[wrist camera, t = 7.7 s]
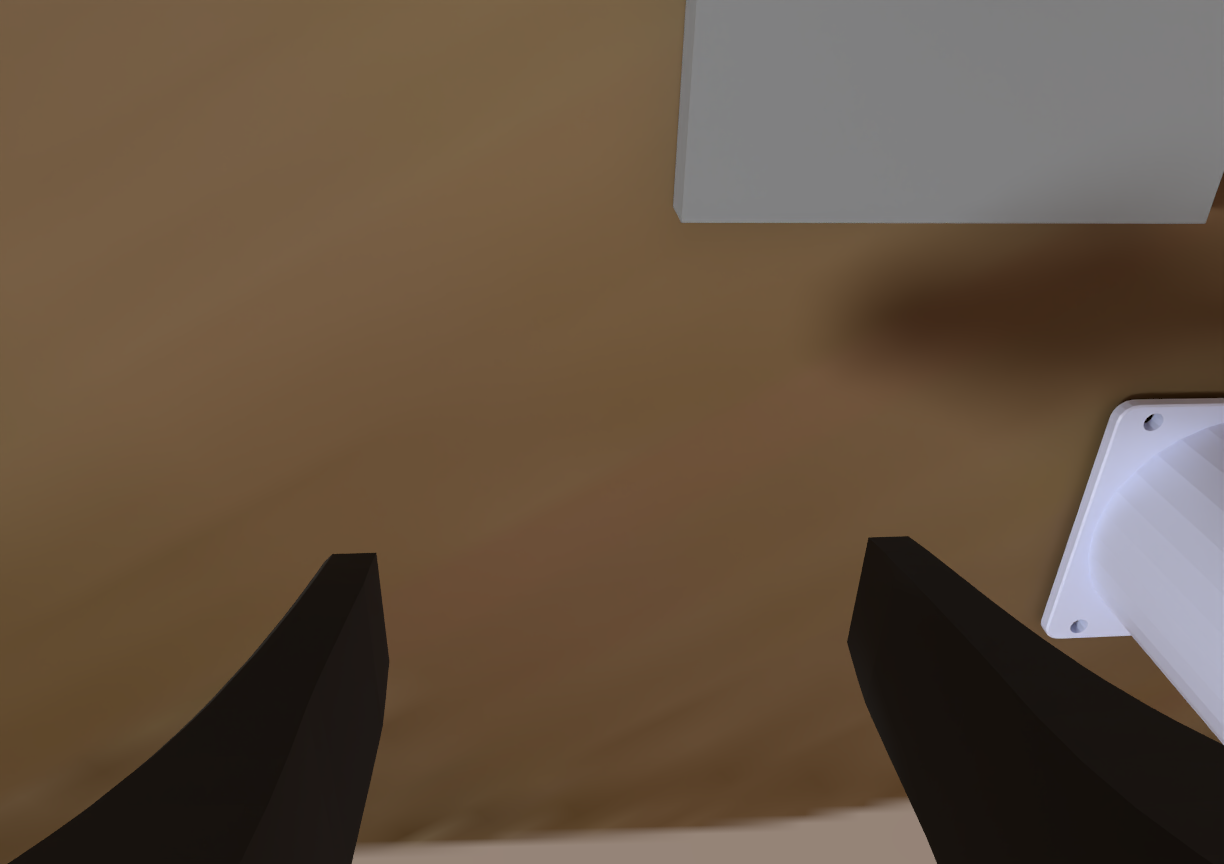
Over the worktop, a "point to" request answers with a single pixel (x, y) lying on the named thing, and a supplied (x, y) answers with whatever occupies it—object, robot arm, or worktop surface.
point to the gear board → (950, 111)
